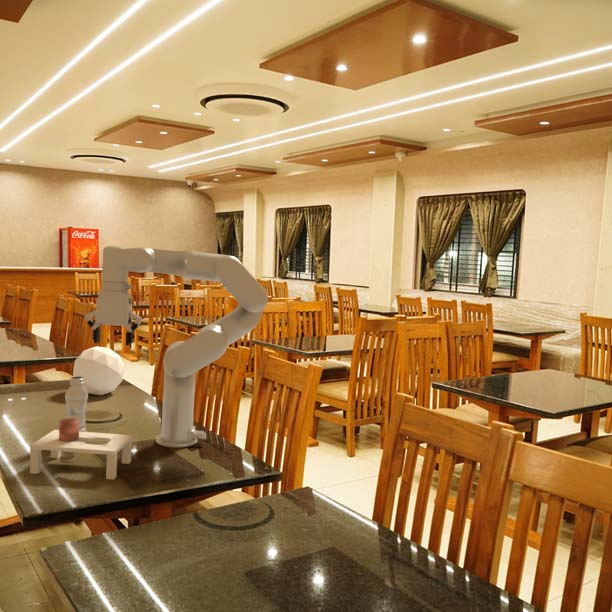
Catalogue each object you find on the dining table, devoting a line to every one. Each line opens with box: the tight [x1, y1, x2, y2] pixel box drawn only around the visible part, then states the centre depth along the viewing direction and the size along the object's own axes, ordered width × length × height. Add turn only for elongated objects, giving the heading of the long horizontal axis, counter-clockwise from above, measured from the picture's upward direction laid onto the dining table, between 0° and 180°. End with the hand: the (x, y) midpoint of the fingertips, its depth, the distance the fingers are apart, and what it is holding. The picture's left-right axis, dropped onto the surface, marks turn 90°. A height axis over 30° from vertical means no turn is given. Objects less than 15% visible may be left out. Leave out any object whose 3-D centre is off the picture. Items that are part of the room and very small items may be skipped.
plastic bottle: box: [64, 376, 89, 443], centre depth 182 cm, size 6×7×20 cm
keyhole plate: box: [29, 429, 133, 480], centre depth 164 cm, size 22×14×8 cm, turn 88°
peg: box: [58, 417, 79, 464], centre depth 164 cm, size 5×5×11 cm
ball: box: [72, 346, 125, 396], centre depth 244 cm, size 19×20×20 cm
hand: (112, 343), depth 184 cm, fingers open, 9 cm apart
